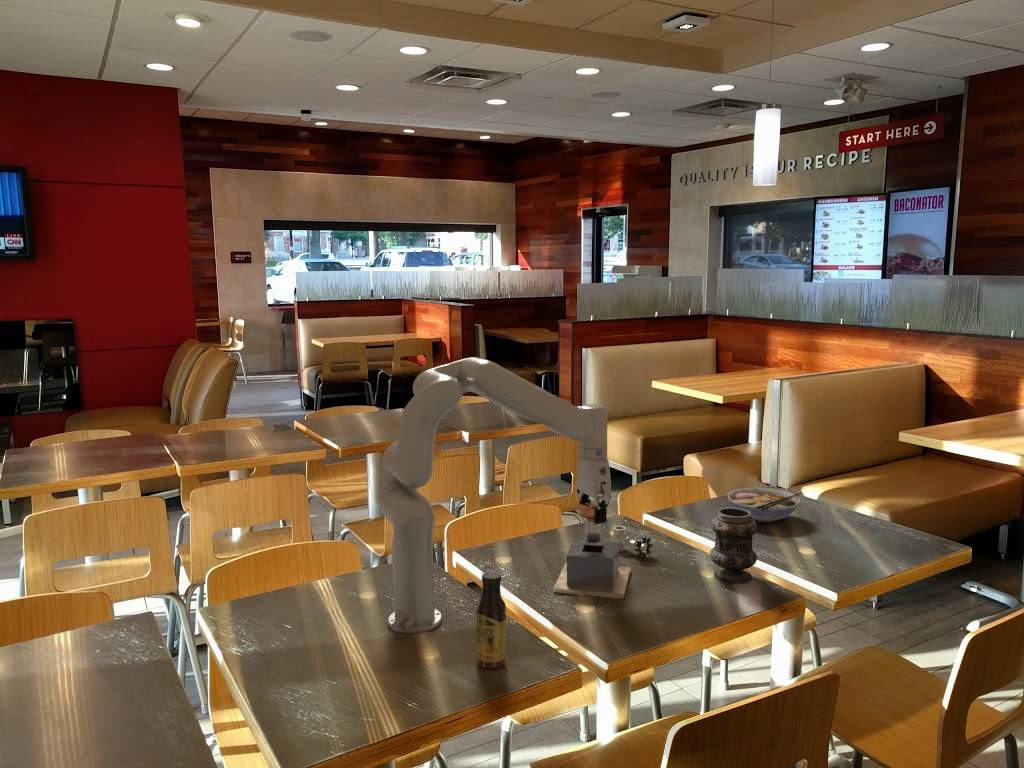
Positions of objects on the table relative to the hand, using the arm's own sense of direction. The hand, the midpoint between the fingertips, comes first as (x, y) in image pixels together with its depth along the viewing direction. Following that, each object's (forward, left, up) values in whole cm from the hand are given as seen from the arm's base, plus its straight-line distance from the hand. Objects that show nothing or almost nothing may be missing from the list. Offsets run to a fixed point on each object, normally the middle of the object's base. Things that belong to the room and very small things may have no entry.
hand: (592, 518), depth 205 cm
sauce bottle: (-47, +15, -18) cm, 52 cm away
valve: (+23, -7, -18) cm, 30 cm away
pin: (0, 0, -6) cm, 6 cm away
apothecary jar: (+11, -36, -18) cm, 42 cm away
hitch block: (0, 0, -18) cm, 18 cm away
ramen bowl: (+62, -47, -18) cm, 80 cm away
